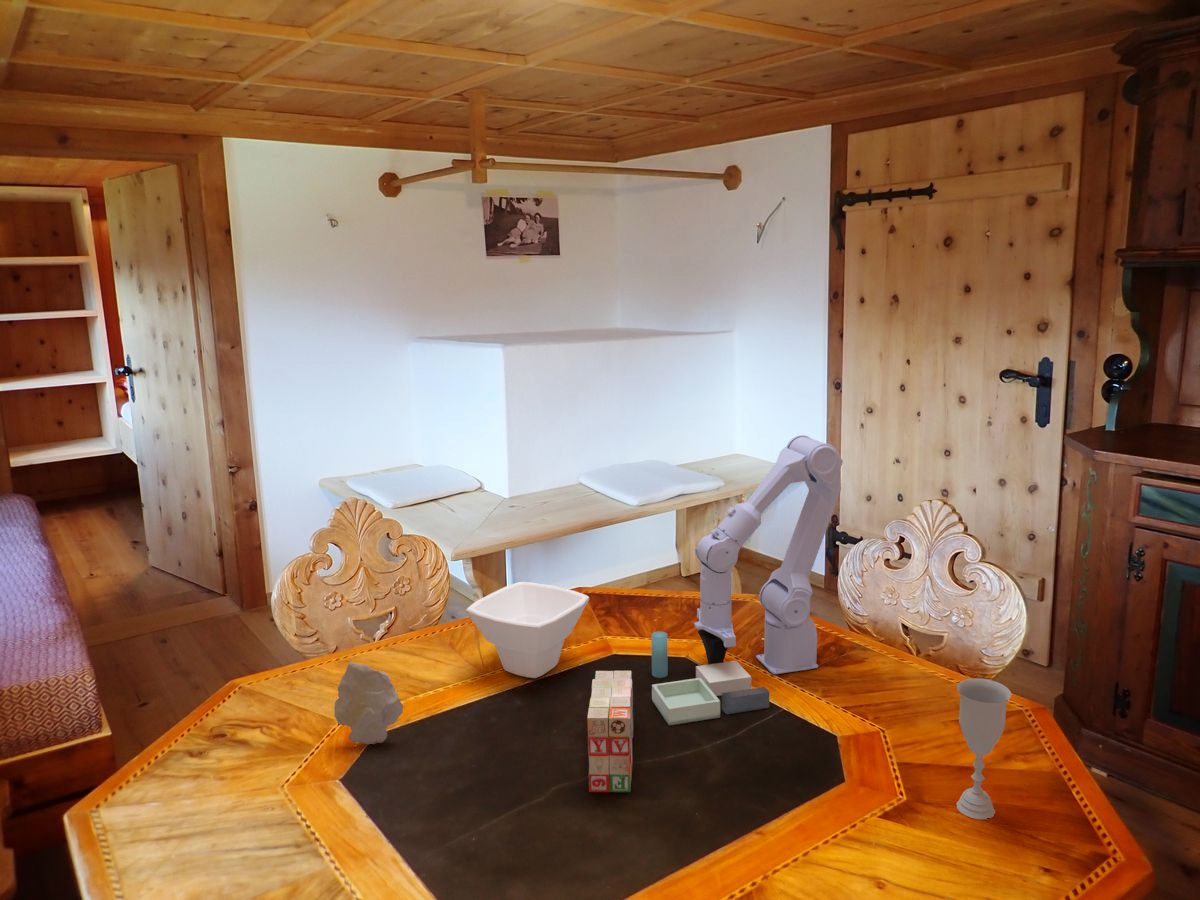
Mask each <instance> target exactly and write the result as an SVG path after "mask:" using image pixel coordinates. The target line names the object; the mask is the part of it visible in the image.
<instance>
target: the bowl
mask: <svg viewBox="0 0 1200 900" xmlns="http://www.w3.org/2000/svg"><path fill="white" fill-rule="evenodd" d="M589 601H590V597H589V596H588V595H587V594H584V593H581V592H579V591H576V590H572V589H569V588H568V589H567V588H564V587H561V586H556V585H550V584H545V583H538V582H530V581H529V582H527V581H519V582H516V583H511V584H509V585H506V586H504V587H501V588H500V589H497V590H496V591H493V592H491V593H490V594H487V595H486V596H484V597H482V598H480V599H477V600H475V601H474V602H473V603H471V605H469V606H468V607H467V608H466V610H465V612H466V614H467V615H468V617H470V619H471V621H472V622H473V624H474V625H475V626H476V627H477V629H478V630H479V632H480V633H481V634H482V635H483V637H484V638H485V640H486V641H487V642H489V643H490V644H492V645H494V647H495V650H496V653H497V655H498V658H499V659H500V662H501V665H502V667H503V669H504V671H507V672H508V673H511V674H514V675H516V676H519V677H524V678H531V679H537V678H539V677H541V676H544V675H545V674H546V673H548V672H550V671H551V670H552V669H554V668H555V667H556V666H557V665H558V663H559V662H560V657H561V653H562V650H563V647H564V642H565V639H566V638H568V637H569V635H571V633H572V632H573V631H574V628H575V626H576V625H577V622H578V621H579V619H580V617H581V616H582V614H583V611H584V610H585V608H586V606H587V604H588V602H589Z"/></svg>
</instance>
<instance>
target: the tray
mask: <svg viewBox="0 0 1200 900" xmlns="http://www.w3.org/2000/svg"><path fill="white" fill-rule="evenodd" d="M651 701H652V702H653V704H654V705H655V707H656V708H657V710H658V712H660V715H661V716H662V717H663V719H664V721H665V722H666V723H667V725H668V726H674V725H680V724H681V725H682V724H687V723H692V722H699V721H706V720H712V719H718V718H721V700H720V698H718V696H715V694H714V693H713V692H712V691H711V690H710V688H709V687H708V686H707V685H706V684H705V682H704V681H703V680H702V679H701V678H696V677H695V678H689V679H682V680H677V681H670V682H669V681H668V682H662V683H655V684H651Z"/></svg>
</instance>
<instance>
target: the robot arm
mask: <svg viewBox="0 0 1200 900" xmlns="http://www.w3.org/2000/svg"><path fill="white" fill-rule="evenodd" d="M843 464H844V460H843V459H842V457H841V455H840V453H839V452H838V450H837V448H836V447H835V446H833V445H832V444H830V443H826V442H825V443H824V442H821V441H819V440H816V439H814V438H811V437H809V436H807V435H803V434H801V435H796V436H794V437H793V438H792V439H790V440H789V441H788V443H787V444H786V447H784V448H782V449H781V450H780V451H779V454H778V457H777V459H776V462H775V463H774V465H773V466H772V467H771V469H769V471H768V473H766V476H765V477H764V478H763V479H762V481H761V482H760V483H759V485H758V486H757V487H756V489H755V490H753V493H751V495H750V497H749V498H748V499H747V501H746V502H740V503H736V504H735V505H734V507H733V506H730V507H729V508H728V509H727V511H726V512H727V515H726V516H725V517H724V518H723V519H722V520H721V522H720V523H719V524H718V525H717V526H716V528H713V529H712V530H711V531H710V534H708V535H705V536H703V537H702V538H701V539H700V540H699V542H698V544H697V547H696V548H694V554H695V557H696V558H697V559H698V561H699V563H700V566H699V567H700V572H699V573H700V576H699V580H700V581H699V584H700V585H699V597H700V598H699V599H700V600H699V602H700V603H699V604H700V605H699V606H700V607H699V608H697V609H696V618H697V619H698V621H696V622H694V623H693V625H694V628H695V629H696V630H698V631H697V633H698V636H699V637H700V639H701V641H702V645H703V646H704V648H703V649H704V650H705V654H706V655H705V656H706V660H707V665H709V664H716V663H723V662H724V661H725V659H726V655H727V651H728V649H729V648H733V647H736V646H737V637H736V636H737V635H735V633H734V626H733V620H732V568H733V567H734V566H735V565H736V564H737V562H738V557H739V552H740V551H741V548H742V547H743V546H744V545H745V544H746V542H747V541H748V540H749V539H750V537H751V536H752V535H753V534H755V532H756V530H757V529H758V528H759V527H760V526H761V524H762V513H764V512H765V511H766V509H768V507H769V506H770V505H772V503H773V502H775V500H776V499H777V498H778V497H779V496H780V495H781V494H782V493H783V492H784V491H785V490H786V489H787V487H788V486H789V485H790V484H793V483H801V482H804V483H805V485H806V487H807V488H808V489H807V490H808V492H807V495H806V497H805V500H804V503H803V506H802V508H801V512H800V514H799V516H798V520H797V522H796V525H795V528H794V531H793V533H792V535H791V539H790V541H789V545H788V546H787V549H786V552H785V555H784V557H783V560H782V563H781V566H780V567H778V568H777V569H775V570H773V571H772V572H771V574H770V576H769V579H768V580H767V581H766V582H765V583H764V585H762V587H761V588H760V592H759V594H758V599H759V602H760V604H761V606H762V607H763V608H764V651H763V652H764V653H762V654H756V656H755V658H756V659H757V660H758V661H759V662H760V663H761V664H762V665H763V666H764V667H765V668H766V669H767V670H768V671H769V672H770V673H771V674H773V675H780V674H786V673H793V672H799V671H808V670H813V669H818V668H819V665H818V664H817V660H818V659H817V657H818V656H817V655H818V653H817V652H818V651H817V650H818V631H817V627H816V625H815V622H814V620H813V619H812V618H811V617H810V613H811V598H812V595H813V589H812V585H811V582H810V575H811V572H812V570H813V567H814V565H815V562H816V560H817V556H818V555H819V550H820V548H821V545H822V543H823V539H824V537H825V535H826V533H827V530H828V528H829V527H828V526H829V524H830V521H831V518H832V516H833V513H834V511H835V507H836V505H837V502H838V500H839V496H840V494H841V490H842V483H841V467H842V465H843Z"/></svg>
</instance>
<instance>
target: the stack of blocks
mask: <svg viewBox="0 0 1200 900" xmlns="http://www.w3.org/2000/svg"><path fill="white" fill-rule="evenodd" d="M632 673H633V671H632V670H596V671H595V675H594V678H593V679H592V681H591V694H590V695H591V696H590V699H589V703H588V704H589V706H588V710H587V722H586V723H587V756H588V792H589V793H631V789H632V788H631V787H632V786H631V784H632V777H633V776H632V774H633V738H634V707H633V706H634V697H633V696H634V692H633V691H634V690H633V689H634V688H633V679H632V678H633V677H632V676H633V675H632Z"/></svg>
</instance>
